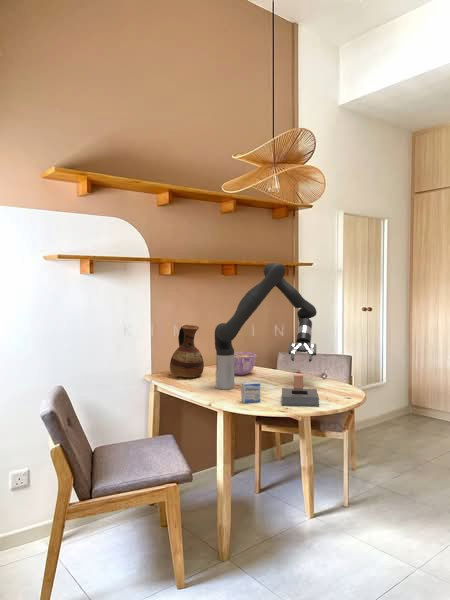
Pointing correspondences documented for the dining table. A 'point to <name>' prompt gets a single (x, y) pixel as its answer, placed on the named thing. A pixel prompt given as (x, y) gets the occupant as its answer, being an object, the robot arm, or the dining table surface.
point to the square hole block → (299, 397)
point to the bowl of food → (243, 362)
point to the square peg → (298, 381)
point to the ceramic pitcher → (187, 355)
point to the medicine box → (250, 392)
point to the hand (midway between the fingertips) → (301, 360)
